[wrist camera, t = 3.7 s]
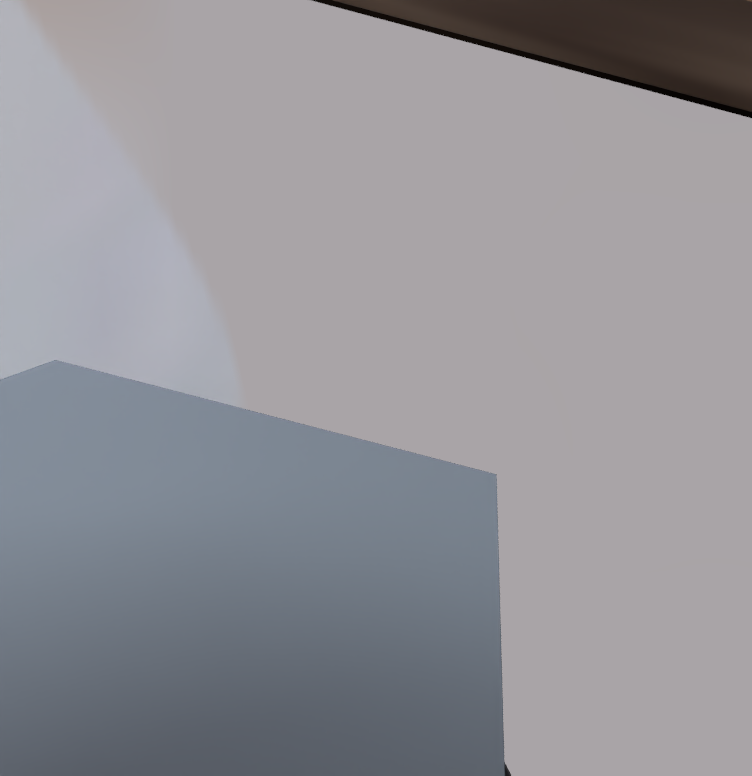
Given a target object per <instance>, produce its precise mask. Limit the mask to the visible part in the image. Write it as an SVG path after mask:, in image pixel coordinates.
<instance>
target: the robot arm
mask: <svg viewBox="0 0 752 776" xmlns="http://www.w3.org/2000/svg"><path fill="white" fill-rule="evenodd" d="M504 771H505V776H511V774H510V772H509V770H508V768H507V766H506V765H505V762H504Z"/></svg>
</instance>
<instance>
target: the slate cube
mask: <svg viewBox="0 0 752 776" xmlns="http://www.w3.org/2000/svg"><path fill="white" fill-rule="evenodd" d="M500 626H501V625H500V590H499V554H498V516H497V479H496V474H493V473H489V472H485V471H482V470H477V469H474V468H470V467H466V466H462V465H458V464H455V463H451V462H446V461H443V460H439V459H435V458H431V457H427V456H423V455H420V454H416V453H412V452H408V451H404V450H401V449H397V448H393V447H389V446H385V445H381V444H377V443H373V442H370V441H366V440H362V439H358V438H354V437H350V436H347V435H343V434H339V433H335V432H331V431H327V430H323V429H319V428H316V427H311V426H308V425H304V424H300V423H296V422H293V421H289V420H285V419H281V418H277V417H273V416H269V415H265V414H262V413H258V412H254V411H250V410H246V409H242V408H238V407H235V406H231V405H227V404H223V403H219V402H215V401H211V400H208V399H204V398H200V397H196V396H192V395H188V394H184V393H181V392H177V391H173V390H169V389H165V388H161V387H157V386H154V385H150V384H146V383H142V382H138V381H134V380H130V379H127V378H123V377H119V376H115V375H111V374H107V373H103V372H100V371H96V370H92V369H88V368H84V367H80V366H76V365H73V364H69V363H65V362H61V361H57V360H54V361H52V362H49V363H46V364H43V365H40V366H38V367H35V368H32V369H29V370H26V371H24V372H21V373H18V374H15V375H12V376H10V377H7V378H4V379H1V380H0V776H505V771H504V737H503V736H504V734H503V698H502V661H501V627H500Z"/></svg>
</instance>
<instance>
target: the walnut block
mask: <svg viewBox="0 0 752 776" xmlns="http://www.w3.org/2000/svg"><path fill="white" fill-rule="evenodd" d="M312 1H315V2H319V3H323V4H326V5H330V6H334V7H338V8H341V9H345V10H349V11H353V12H356V13H360V14H364V15H367V16H371V17H375V18H379V19H383V20H386V21H390V22H394V23H398V24H401V25H405V26H409V27H412V28H416V29H420V30H424V31H427V32H431V33H435V34H438V35H442V36H446V37H450V38H453V39H457V40H461V41H465V42H469V43H472V44H476V45H480V46H483V47H487V48H491V49H495V50H498V51H502V52H506V53H510V54H513V55H517V56H521V57H525V58H528V59H532V60H536V61H539V62H543V63H547V64H551V65H555V66H558V67H562V68H566V69H569V70H573V71H577V72H581V73H584V74H588V75H592V76H596V77H599V78H603V79H607V80H611V81H614V82H618V83H622V84H625V85H629V86H633V87H637V88H641V89H644V90H648V91H652V92H655V93H659V94H663V95H667V96H670V97H674V98H678V99H681V100H685V101H689V102H693V103H696V104H700V105H704V106H708V107H711V108H715V109H719V110H723V111H726V112H730V113H734V114H738V115H741V116H745V117H749V118H752V0H312Z"/></svg>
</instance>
